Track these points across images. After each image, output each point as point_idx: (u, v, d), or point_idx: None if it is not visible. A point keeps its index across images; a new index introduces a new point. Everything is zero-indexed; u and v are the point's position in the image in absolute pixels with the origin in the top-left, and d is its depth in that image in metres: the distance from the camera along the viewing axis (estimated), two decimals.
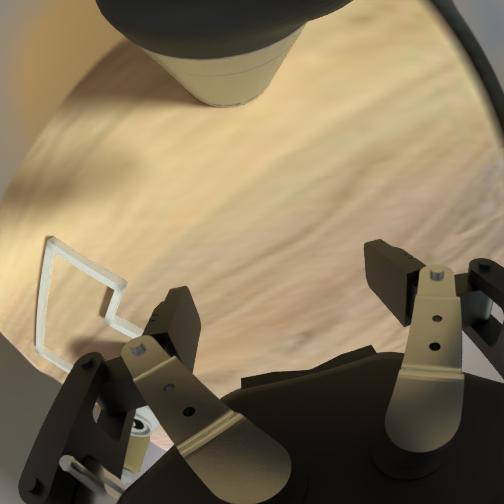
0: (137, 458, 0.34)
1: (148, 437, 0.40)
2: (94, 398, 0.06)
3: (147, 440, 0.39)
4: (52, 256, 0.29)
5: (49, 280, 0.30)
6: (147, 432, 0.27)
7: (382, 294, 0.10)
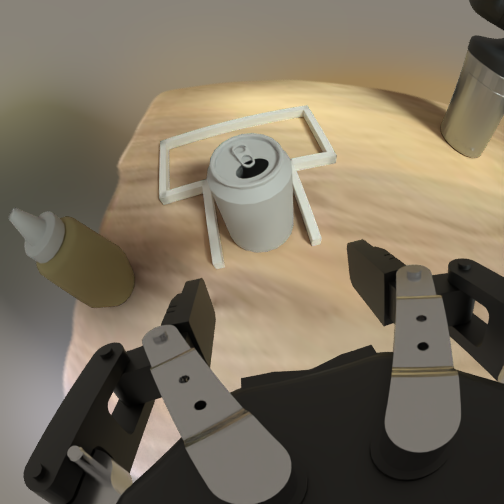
0: (85, 266, 0.22)
1: (112, 297, 0.27)
2: (111, 390, 0.06)
3: (108, 294, 0.26)
4: (295, 114, 0.39)
5: (268, 120, 0.40)
6: None
7: (364, 294, 0.11)
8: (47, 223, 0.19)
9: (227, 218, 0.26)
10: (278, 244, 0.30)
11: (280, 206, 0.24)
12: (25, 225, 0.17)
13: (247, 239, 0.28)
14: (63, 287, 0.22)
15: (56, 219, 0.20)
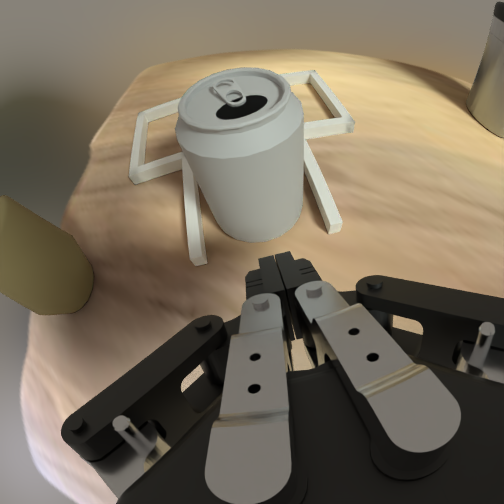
0: (16, 260, 0.13)
1: (59, 302, 0.18)
2: (191, 367, 0.07)
3: (53, 299, 0.17)
4: (300, 79, 0.30)
5: None
6: None
7: None
8: None
9: (206, 189, 0.17)
10: (282, 231, 0.21)
11: (286, 168, 0.15)
12: None
13: (237, 222, 0.19)
14: None
15: None
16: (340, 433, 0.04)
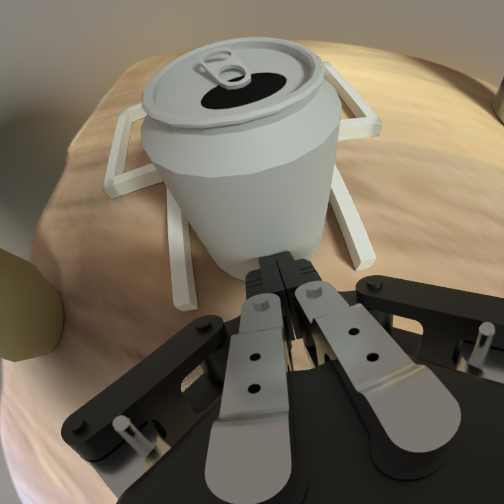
0: None
1: (22, 350, 0.12)
2: (191, 367, 0.07)
3: (14, 347, 0.12)
4: None
5: None
6: None
7: None
8: None
9: (189, 218, 0.11)
10: None
11: (314, 190, 0.09)
12: None
13: (236, 262, 0.13)
14: None
15: None
16: (340, 433, 0.04)
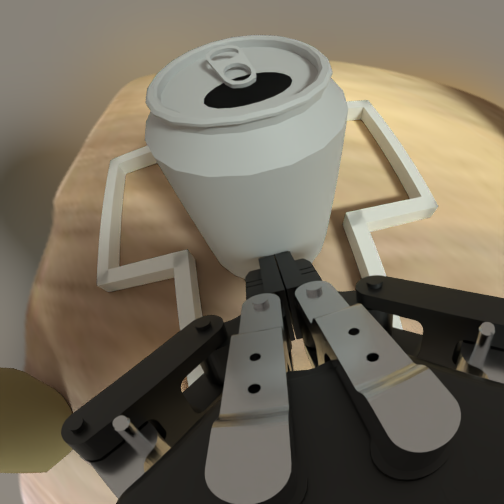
0: None
1: (43, 470, 0.09)
2: (191, 367, 0.07)
3: (35, 470, 0.08)
4: (349, 114, 0.21)
5: None
6: None
7: None
8: None
9: (190, 214, 0.11)
10: None
11: (315, 194, 0.09)
12: None
13: (235, 259, 0.13)
14: None
15: None
16: (340, 433, 0.04)
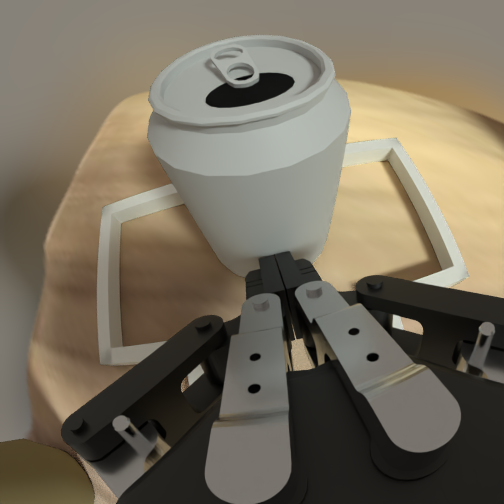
0: None
1: None
2: (191, 367, 0.07)
3: None
4: (375, 155, 0.19)
5: None
6: None
7: None
8: None
9: (190, 211, 0.11)
10: None
11: (314, 196, 0.09)
12: None
13: (234, 258, 0.13)
14: None
15: None
16: (340, 433, 0.04)
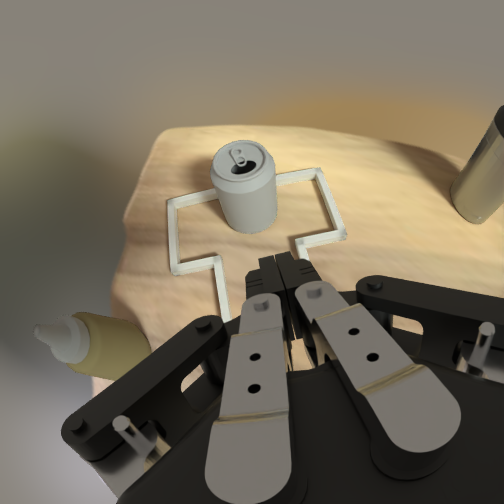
0: (112, 362, 0.24)
1: None
2: (191, 367, 0.07)
3: None
4: (307, 177, 0.41)
5: (279, 183, 0.41)
6: None
7: None
8: (72, 331, 0.20)
9: (222, 203, 0.33)
10: (261, 229, 0.37)
11: (262, 198, 0.31)
12: (52, 341, 0.18)
13: (236, 221, 0.35)
14: (91, 375, 0.23)
15: (80, 327, 0.21)
16: (340, 433, 0.04)
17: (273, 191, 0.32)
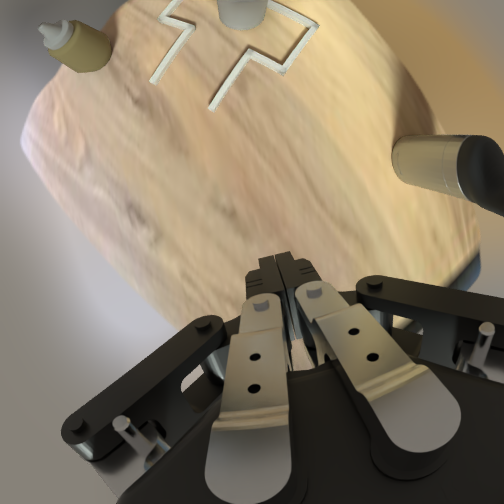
0: (74, 56, 0.25)
1: (85, 70, 0.31)
2: (192, 367, 0.07)
3: (83, 69, 0.30)
4: (303, 23, 0.33)
5: (280, 12, 0.32)
6: None
7: None
8: (62, 30, 0.20)
9: None
10: (234, 28, 0.32)
11: (239, 10, 0.26)
12: (47, 33, 0.18)
13: (219, 12, 0.29)
14: (58, 60, 0.25)
15: (68, 29, 0.20)
16: (340, 433, 0.04)
17: (253, 11, 0.27)
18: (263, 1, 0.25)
